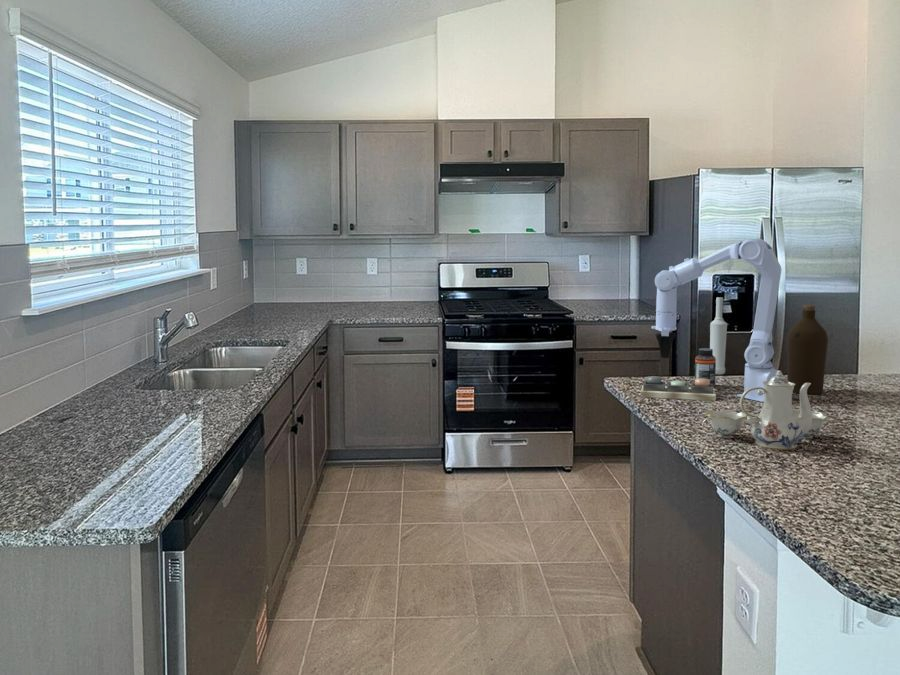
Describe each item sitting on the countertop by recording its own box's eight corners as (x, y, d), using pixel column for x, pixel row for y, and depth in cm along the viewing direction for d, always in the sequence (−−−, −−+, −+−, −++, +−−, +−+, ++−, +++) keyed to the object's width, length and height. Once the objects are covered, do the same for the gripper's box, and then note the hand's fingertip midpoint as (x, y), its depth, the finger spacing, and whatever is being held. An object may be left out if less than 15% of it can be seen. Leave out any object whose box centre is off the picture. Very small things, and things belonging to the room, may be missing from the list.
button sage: (685, 388, 220) (685, 381, 220) (685, 390, 216) (685, 383, 216) (670, 387, 221) (670, 380, 221) (670, 389, 217) (670, 382, 217)
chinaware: (815, 438, 178) (815, 366, 178) (855, 450, 161) (855, 370, 161) (695, 440, 177) (695, 367, 176) (723, 452, 160) (723, 372, 160)
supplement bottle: (698, 383, 237) (700, 347, 235) (718, 385, 233) (719, 348, 232) (691, 386, 232) (692, 349, 231) (710, 388, 228) (712, 350, 227)
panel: (714, 393, 221) (714, 382, 220) (715, 400, 211) (716, 388, 211) (642, 390, 226) (642, 379, 226) (640, 397, 217) (640, 385, 217)
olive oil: (824, 396, 216) (829, 307, 213) (783, 393, 221) (787, 306, 218) (825, 390, 225) (830, 304, 222) (785, 387, 230) (789, 303, 227)
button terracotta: (709, 385, 218) (709, 378, 218) (709, 388, 214) (710, 381, 214) (694, 384, 219) (694, 377, 219) (694, 387, 215) (694, 380, 215)
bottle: (713, 371, 258) (715, 296, 255) (728, 373, 255) (730, 297, 252) (705, 373, 255) (708, 297, 252) (720, 375, 251) (723, 298, 248)
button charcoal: (661, 383, 222) (661, 376, 221) (661, 385, 218) (661, 378, 218) (647, 382, 223) (647, 375, 223) (646, 385, 219) (646, 378, 219)
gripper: (653, 309, 233) (651, 353, 235) (651, 313, 220) (649, 360, 221) (677, 309, 231) (676, 354, 233) (676, 314, 218) (675, 361, 219)
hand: (664, 357), depth 227 cm, fingers closed
